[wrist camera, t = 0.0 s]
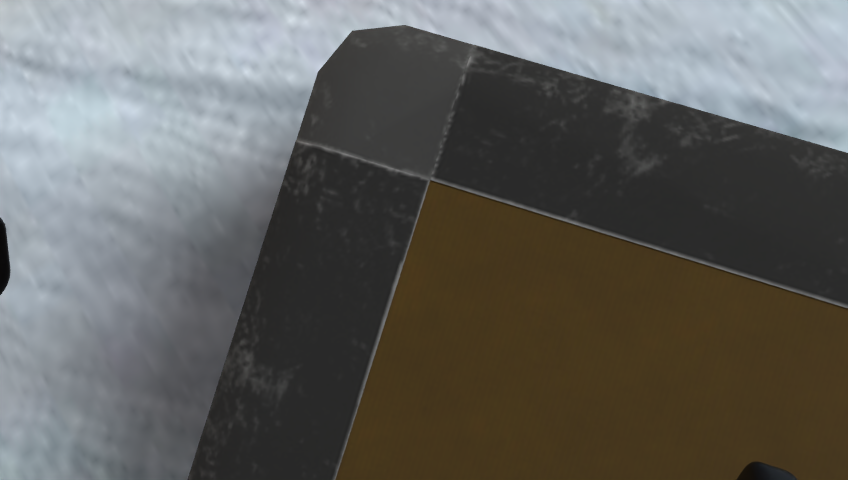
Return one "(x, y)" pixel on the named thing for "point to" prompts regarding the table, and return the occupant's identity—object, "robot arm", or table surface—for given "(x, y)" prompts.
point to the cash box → (534, 285)
